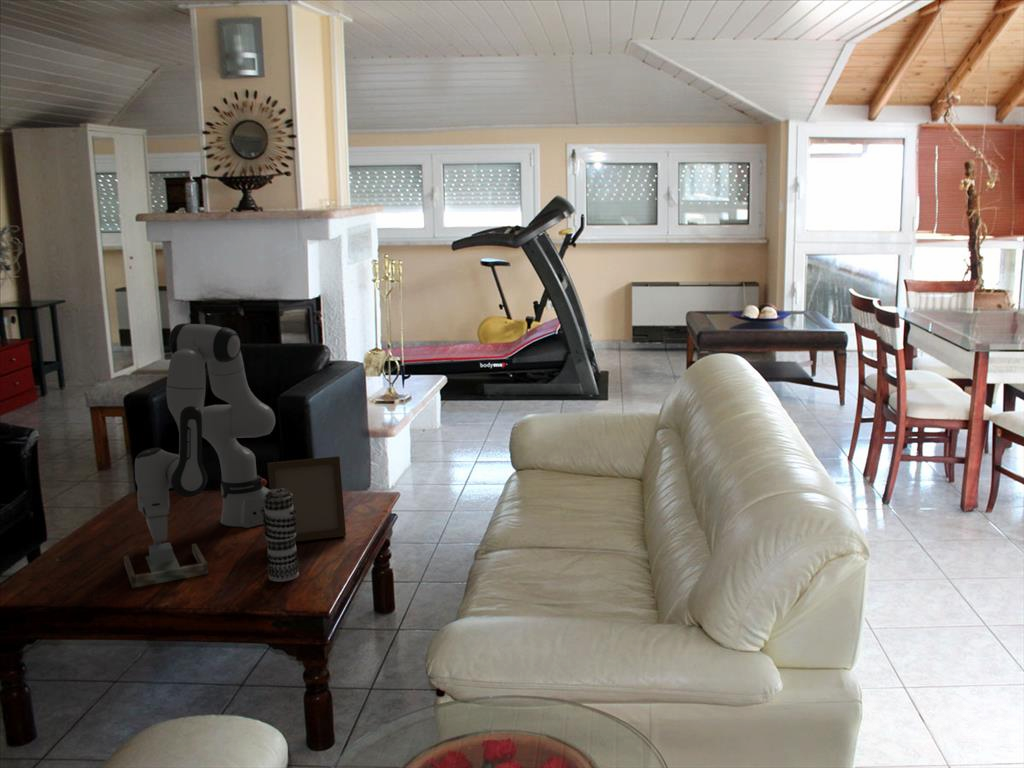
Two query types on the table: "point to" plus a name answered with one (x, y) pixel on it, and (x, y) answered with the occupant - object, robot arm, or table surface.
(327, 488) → the photo frame
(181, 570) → the grey-green e-shaped frame
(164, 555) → the block
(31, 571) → the table surface
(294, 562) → the black white tall cylinder
